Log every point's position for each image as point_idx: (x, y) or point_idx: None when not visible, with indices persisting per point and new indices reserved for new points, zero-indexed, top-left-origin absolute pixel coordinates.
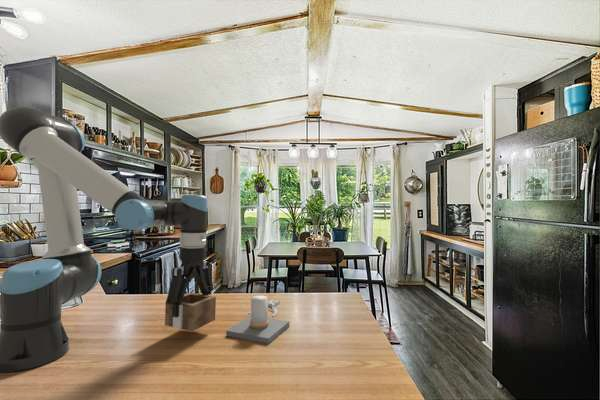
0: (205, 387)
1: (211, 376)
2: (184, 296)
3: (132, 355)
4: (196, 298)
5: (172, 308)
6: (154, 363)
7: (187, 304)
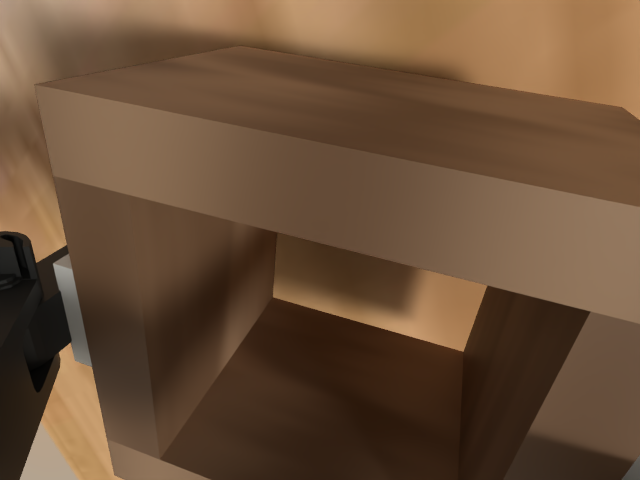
0: (58, 415)
1: (102, 419)
2: (399, 259)
3: (32, 19)
4: (522, 385)
5: (43, 263)
6: (52, 198)
7: (113, 421)
